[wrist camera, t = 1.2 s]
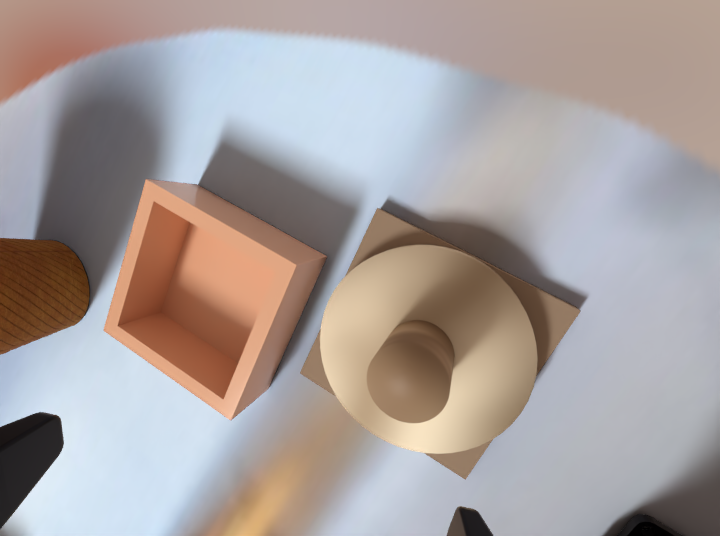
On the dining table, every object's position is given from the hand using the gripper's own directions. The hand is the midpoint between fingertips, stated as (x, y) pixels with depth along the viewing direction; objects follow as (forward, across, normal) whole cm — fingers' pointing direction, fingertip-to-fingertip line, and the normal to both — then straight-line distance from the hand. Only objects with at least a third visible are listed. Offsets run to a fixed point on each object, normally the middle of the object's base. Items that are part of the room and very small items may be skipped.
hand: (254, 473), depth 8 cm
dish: (+13, +6, +2) cm, 15 cm away
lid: (+10, -5, +2) cm, 11 cm away
